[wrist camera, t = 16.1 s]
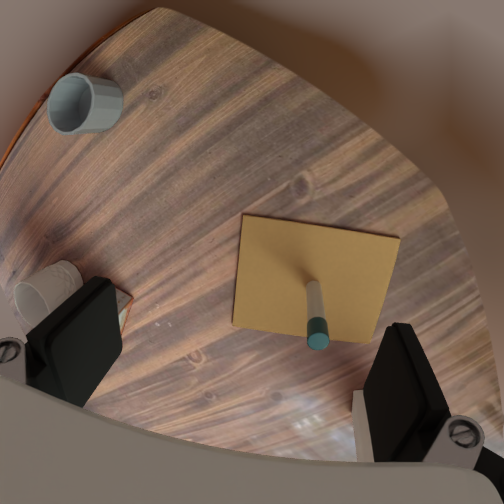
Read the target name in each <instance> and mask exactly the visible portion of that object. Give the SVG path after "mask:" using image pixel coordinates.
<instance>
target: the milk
mask: <svg viewBox="0 0 504 504" xmlns="http://www.w3.org/2000/svg"><path fill="white" fill-rule="evenodd" d="M352 420H353V428H354V437H355V445H356V454H357V462H374V457H373V450H372V444H371V437H370V431H369V425H368V419H367V413H366V407H365V402H364V396H363V390H355V391H353V403H352Z"/></svg>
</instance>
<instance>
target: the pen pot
mask: <svg viewBox="0 0 504 504" xmlns="http://www.w3.org/2000/svg"><path fill="white" fill-rule="evenodd" d="M122 109H123V94H122V91H121V89H120V87H119V86H118V84H117V83H115V82H114V81H112V80H110V79H107V78H103V77H99V76H94V75H89V74H83V73H78V72H76V73H70V74H67V75H65V76H64V77H62V78H61V79H59V80H58V82H57V83H56V84H55V86H54V87H53V88H52V90H51V93H50V96H49V98H48V103H47V115H48V119H49V123H50V125H51V126H52V127H53V129H54V130H55V131H56V132H58V133H60V134H62V135H74V134H86V133H100V132H103V131H106V130H108V129H110V128H111V127H112V126H113V125H114V124H115V123H116V122H117V120H118V119H119V117H120V115H121V112H122Z"/></svg>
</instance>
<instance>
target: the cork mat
mask: <svg viewBox="0 0 504 504" xmlns="http://www.w3.org/2000/svg"><path fill="white" fill-rule="evenodd" d="M400 241H401V239H400V238H394V237H388V236H382V235H376V234H370V233H364V232H358V231H352V230H346V229H339V228H333V227H327V226H320V225H314V224H307V223H300V222H293V221H287V220H280V219H272V218H265V217H258V216H251V215H243V222H242V232H241V242H240V252H239V262H238V272H237V282H236V293H235V303H234V314H233V325H232V326H236V327H242V328H249V329H255V330H261V331H268V332H275V333H282V334H289V335H296V336H304V337H307V323H308V322H307V298H306V285H307V284H308V283H309V282H310V281H318V282H319V283H320V284H321V288H322V295H323V302H324V309H325V316H326V321H327V324H328V332H329V340H337V341H346V342H355V343H366V344H370V341H371V338H372V336H373V333H374V330H375V327H376V324H377V321H378V318H379V315H380V312H381V308H382V305H383V302H384V299H385V296H386V292H387V289H388V285H389V282H390V279H391V275H392V271H393V268H394V264H395V260H396V257H397V253H398V249H399V245H400Z"/></svg>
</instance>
